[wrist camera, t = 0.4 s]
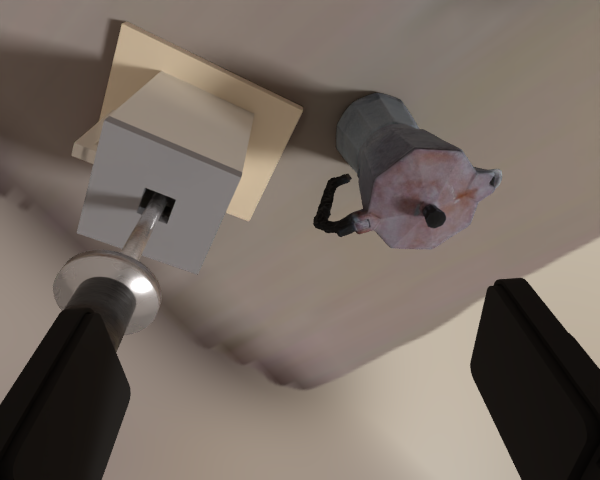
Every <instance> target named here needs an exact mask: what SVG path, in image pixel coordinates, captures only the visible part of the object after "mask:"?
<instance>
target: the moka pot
mask: <svg viewBox="0 0 600 480" xmlns="http://www.w3.org/2000/svg"><path fill="white" fill-rule="evenodd" d="M336 148H337V150H338V151H339V153H340V154H341V155H342V157H343V158H344V159H345V160H346V161H347V163H348V164H349V165H350V166H351V167H352V168H353V169H354V170H355V172H356V173H357V176H358V178H359V181H358V182H359V187H360V193H361V199H362V205H363V209H361V210H359V211H356V212H353V213H351V214H349V215H348V216H346V217H345V218H343V219H341V220H340V221H335V222H332V221H328V218H329V216H330V215H331V214H330V210H331V207H332V202H333V197H334V193H335V190H336V188H337V187H339V186H340V185H343V184H345V183H348V182H350V179H352V178H351V177H350V175H349V174H346V175H345V174H344V175H342V176H340V177H336V178H335V177H334V178H331V179H330V180H328V183H327V185H326V188H325V190H324V193H323V196H322V199H321V203H320V205H319V207H318V211H317V215H316V216H315V217H314V223H313V224H314V226H315V228H318V229H321V230H323V231H325V232H326V233H334V232H335V233H337V234H338V236H340V237H342V236H345V235H348V234H351V233H352V232H354V231H355V232H356V233H357V234H362V233H365V232H369V231H372V230H374V231H375V232H376V233H377V234H378V235H379V236H380V237H381V238H382V239H383V241H384V242H385V243H386V244H387V245H388V246H389V247H390V248H399V249H433V248H435V247H437V246H438V245H440V244H441V243H443V242H444V241H446V240H447V239H449V238H450V237H452V236H453V235H455V234H457V233H458V232H460V231H461V230H463V229H465V228H466V227H468V226H469V225H470V224H471V221H472V219H473V216H474V213H475V211H476V208H477V205H478V203H479V202H480V201H481V200H483V199H484V198H485V197H487V196H489V195H490V194H492V193H493V192H494V190H495V188H497V187H498V186H499V185H500V183H501V180H502V171H501V170H500V169H491V170H485V169H481V168H476V167H473V166H472V164H471V163H470V161H469V160H468V158H467V157H466V155H465V154H464V152H463V151H462V150H461V149H459V148H458V147H456V146H454V145H452V144H450V143H448V142H446V141H444V140H442V139H440V138H438V137H437V136H435V135H433V134H431V133H429V132H427V131H426V130H423V129H419V128H418V126H417V124H416V122H415V120H414V119H413V117H412V115H411V114H410V112H409V111H408V109H407V108H406V106H405V105H404V104H403V102H402V101H401V100H400V99H398V98H396V97H393V96H389V95H386V94H381V93H374V94H371V95H368V96H365V97H363V98H360V99H358V100H356V101H354V102H353V103H352V104H351V105H350V106H349V107H348V108H347V109H346V110H345V112H344V113H343V115H342V117H341V118H340V120H339V122H338V124H337V130H336Z"/></svg>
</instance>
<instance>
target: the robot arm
mask: <svg viewBox="0 0 600 480" xmlns="http://www.w3.org/2000/svg"><path fill="white" fill-rule="evenodd" d="M470 368H471V373H472V376H473V379H474V381H475V383H476V385H477V387H478V389H479V392H480V394H481V396H482V398H483V400H484V402H485V404H486V406H487V408H488V410H489V412H490V415H491V417H492V419H493V421H494V423H495V425H496V427H497V429H498V431H499V433H500V436H501V438H502V440H503V442H504V444H505V446H506V448H507V450H508V452H509V454H510V457H511V459H512V461H513V463H514V465H515V467H516V469H517V471H518V473H519V475H520V477H521V480H600V369H599V368H598V367H597V365H596V364H595V363H594V362H593V361H592V359H591V358H590V357H589V355H588V354H587V353H586V352H585V351H584V349H583V348H582V347H581V346H580V344H579V343H578V342H577V341H576V339H575V338H574V337H573V336H572V335H571V334H570V333H568V332H567V331H566V330H565V328H564V327H563V326H562V324H561V323H560V322H559V321H558V320H557V318H556V317H555V316H554V315H553V313H552V312H551V311H550V310H549V308H548V307H547V306H546V305H545V303H544V302H543V301H542V300H541V298H540V297H539V296H538V295H537V293H536V292H535V291H534V290H533V288H532V287H531V286H530V285H529V284H528V282H527V281H526V280H525V279H523V278H513V279H499V280H496V282H495V283H494V286H489V287H488V289H487V292H486V297H485V301H484V306H483V310H482V315H481V319H480V323H479V327H478V332H477V336H476V341H475V345H474V350H473V354H472V358H471V363H470ZM129 400H130V386H129V383H128V381H127V378H126V376H125V373H124V371H123V368H122V366H121V364H120V361H119V359H118V356H117V354H116V351H115V349H114V346H113V344H112V341H111V339H110V336H109V334H108V331H107V329H106V326H105V324H104V322H103V319H102V317H101V315H100V314H99V313H94V311H93V310H92V309H91V308H75V309H65V310H62V312H61V313H60V314H59V315H58V317H57V318H56V320H55V321H54V323H53V325H52V326H51V328H50V329H49V331H48V332H47V334H46V335H45V337H44V338H43V340H42V341H41V343H40V344H39V346H38V348H37V349H36V351H35V352H34V354H33V355H32V357H31V358H30V360H29V361H28V363H27V365H26V366H25V368H24V369H23V371H22V372H21V374H20V375H19V377H18V378H17V380H16V381H15V383H14V384H13V386H12V388H11V389H10V391H9V392H8V394H7V395H6V397H5V398H4V400H3V401H2V403H1V404H0V480H102V477H103V474H104V472H105V469H106V466H107V463H108V460H109V457H110V455H111V452H112V449H113V446H114V443H115V440H116V438H117V435H118V432H119V429H120V426H121V423H122V420H123V417H124V415H125V412H126V409H127V407H128V403H129Z"/></svg>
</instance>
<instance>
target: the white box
mask: <svg viewBox="0 0 600 480" xmlns="http://www.w3.org/2000/svg"><path fill="white" fill-rule="evenodd" d="M302 112H303V107H302V106H300V105H298V104H296V103H294V102H291V101H289V100H287V99H285V98H283V97H281V96H279V95H277V94H275V93H273V92H271V91H269V90H267V89H265V88H263V87H261V86H258V85H256V84H254V83H252V82H250V81H248V80H246V79H244V78H242V77H240V76H238V75H236V74H234V73H232V72H230V71H228V70H226V69H223V68H221V67H219V66H217V65H215V64H213V63H211V62H209V61H207V60H205V59H203V58H201V57H199V56H197V55H195V54H193V53H190V52H188V51H186V50H184V49H182V48H180V47H178V46H176V45H174V44H172V43H170V42H168V41H166V40H164V39H162V38H160V37H158V36H155V35H153V34H151V33H149V32H147V31H145V30H143V29H141V28H139V27H137V26H135V25H133V24H131V23H129V22H125V23H122V25H121V30H120V34H119V38H118V42H117V47H116V51H115V55H114V59H113V64H112V68H111V72H110V76H109V80H108V85H107V89H106V93H105V97H104V102H103V106H102V110H101V114H100V119H99V122H98V123H97V124H95V125H94V126H93V127H92V128H91V129H90V130H88V131H87V132H86V133H85V134H84V135H82V136H81V137H80V138H79V139H78V140H77V141H75V142H74V145H73V150H72V155H71V156H73V157H76V158H79V159H81V160H84V161H86V162H89V163H91V164H93V168H92V172H91V176H90V180H89V184H88V189H87V193H86V197H85V201H84V205H83V209H82V213H81V217H80V222H79V226H78V230H77V233H78V234H81V235H84V236H87V237H90V238H93V239H95V240H98V241H101V242H104V243H107V244H110V245H113V246H116V247H119V248H122V249H123V247H124V245H125V243H126V242H127V240H128V238H129V236H130V235H131V233H132V231H133V229H134V228H135V226H136V224H137V222H138V221H139V219H140V217H141V215H142V214H143V212H144V210H145V208H146V207H147V205H148V203H149V201H150V199H148V198H145V197H144V194H145V191H146V188H147V189H150V190H153V191H155V192H158V193H160V194H163V195H165V196H168V197H171V198H173V199H176V201H175V204H174V207H173V208H171V207H169V206H165V208H164V210H163V212H162V214H161V216H160V218H159V220H158V222H157V224H156V226H155V228H154V230H153V232H152V234H151V236H150V238H149V240H148V242H147V244H146V246H145V248H144V251H143V253H142V256H145V257H148V258H150V259H153V260H156V261H159V262H162V263H165V264H168V265H171V266H174V267H177V268H179V269H182V270H185V271H188V272H191V273H194V274H197V275H198V273H199V271H200V269H201V266H202V264H203V262H204V260H205V258H206V255H207V253H208V251H209V249H210V246H211V244H212V242H213V240H214V237H215V235H216V233H217V231H218V229H219V226H220V224H221V222H222V220H223V217H224V215H225V213H228V214H231V215H233V216H236V217H239V218H241V219H244V220H246V221H250V219H251V216H252V214H253V212H254V210H255V208H256V206H257V204H258V202H259V200H260V198H261V196H262V194H263V192H264V190H265V188H266V186H267V184H268V182H269V180H270V178H271V175H272V173H273V171H274V169H275V167H276V165H277V163H278V161H279V159H280V157H281V155H282V153H283V151H284V149H285V147H286V145H287V143H288V141H289V139H290V136H291V134H292V132H293V130H294V128H295V126H296V124H297V122H298V120H299V118H300V116H301V114H302Z"/></svg>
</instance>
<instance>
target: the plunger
mask: <svg viewBox="0 0 600 480" xmlns="http://www.w3.org/2000/svg"><path fill="white" fill-rule="evenodd" d="M144 197H145V198H148V199H150V201H149V203H148V205H147V207H146V208H145V210H144V212H143V214H142V215H141V217H140V219H139V221H138V222H137V224H136V226H135V228H134V229H133V231H132V233H131V235H130V236H129V238H128V240H127V242H126V243H125V245H124V247H123V249H122V250H121V252H120V253H119V252H115V251H110V250H91V251H86V252H82V253H80V254H77V255H75V256H74V257H72V258H71V259H70V260H68V261H67V262H66V264H65V265H64V266H63V267H62V269H61V270H60V272H59V273H58V274H57V276H56V278H55V281H54V285H53V292H54V297H55V300H56V302H57V304H58V306H59V308H60V309H61V310H65V309H75V308H91V309H92V310H93V311H94V313H99V314H100V315H101V317H102V319H103V322H104V324H105V326H106V329H107V331H108V334H109V336H110V339H111V341H112V344H113V346H114V349H115V351H116V352H117V349H118V347H119V345H120V343H121V340H122V338H123V336H124V335H128V334H133V333H136V332H139V331H141V330H143V329H144V328H146V327H147V326H148V325H150V324H151V323H152V321H153V320H154V318H155V317H156V315H157V312H158V309H159V306H160V303H161V298H162V293H161V288H160V285H159V282H158V280H157V279H156V277H155V276H154V274H153V273H152V272H151V271H150V270H149V269H148V268H147V267H146V266H145V265H143V264H142V263H141V262H139V259H140V257H141V255H142V253H143V251H144V248H145V246H146V244H147V242H148V240H149V238H150V236H151V234H152V232H153V230H154V228H155V226H156V224H157V222H158V220H159V218H160V216H161V214H162V212H163V210H164V208H165V206H169V207H171V208H173V207H174V204H175V201H176V199H173V198H171V197H168V196H165V195H163V194H160V193H158V192H155V191H153V190H150V189H147V188H146V191H145V194H144Z"/></svg>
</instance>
